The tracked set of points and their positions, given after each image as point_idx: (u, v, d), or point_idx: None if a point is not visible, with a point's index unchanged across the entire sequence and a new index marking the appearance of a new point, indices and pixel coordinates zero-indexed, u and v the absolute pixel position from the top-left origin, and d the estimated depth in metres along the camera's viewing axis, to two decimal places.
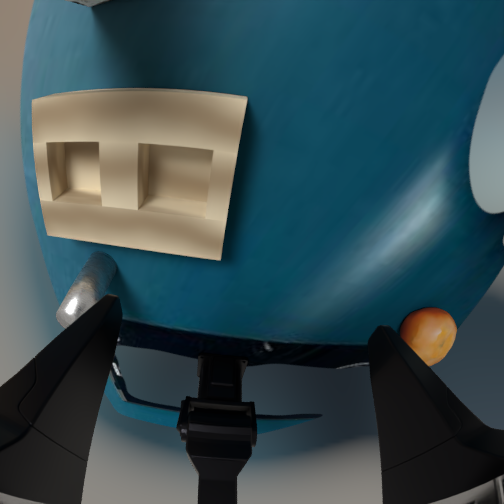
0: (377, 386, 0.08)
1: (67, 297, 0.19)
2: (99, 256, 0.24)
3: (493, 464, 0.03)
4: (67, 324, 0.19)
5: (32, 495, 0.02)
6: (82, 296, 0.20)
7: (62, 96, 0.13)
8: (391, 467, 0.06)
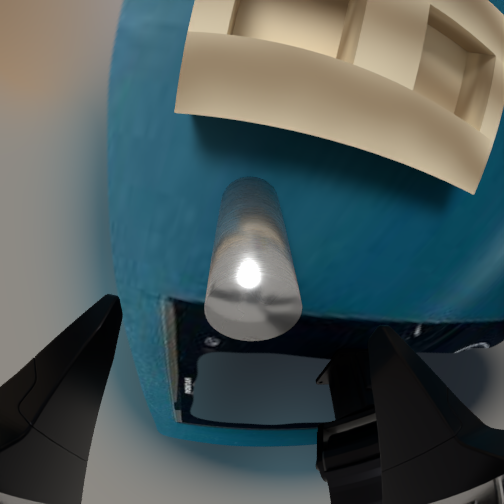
0: (377, 386, 0.08)
1: (240, 247, 0.09)
2: (259, 183, 0.14)
3: (493, 464, 0.03)
4: (234, 317, 0.09)
5: (32, 495, 0.02)
6: (279, 245, 0.10)
7: None
8: (391, 467, 0.06)
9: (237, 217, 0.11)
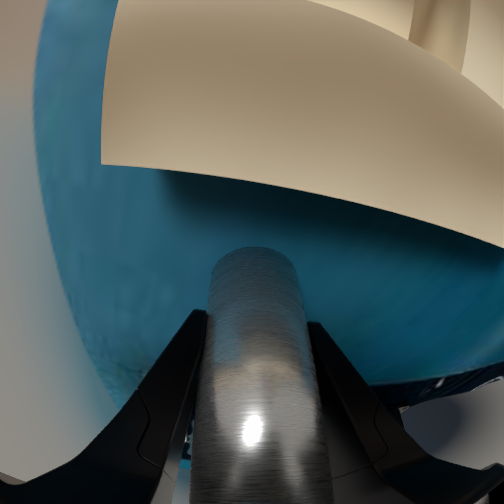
0: None
1: (240, 449, 0.04)
2: (269, 261, 0.09)
3: None
4: None
5: None
6: (308, 429, 0.05)
7: None
8: None
9: (234, 361, 0.06)
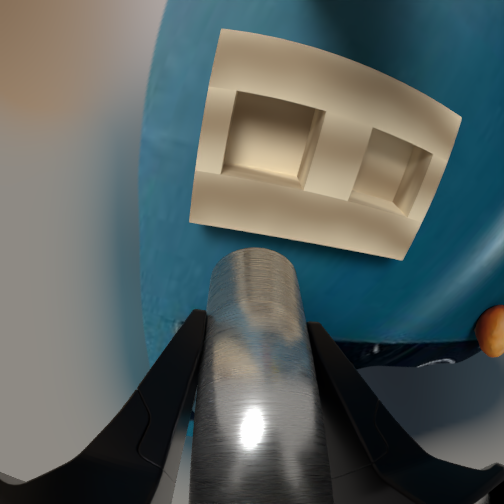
0: None
1: (239, 450, 0.04)
2: (269, 262, 0.09)
3: None
4: None
5: None
6: (308, 429, 0.05)
7: (281, 40, 0.11)
8: None
9: (234, 361, 0.06)
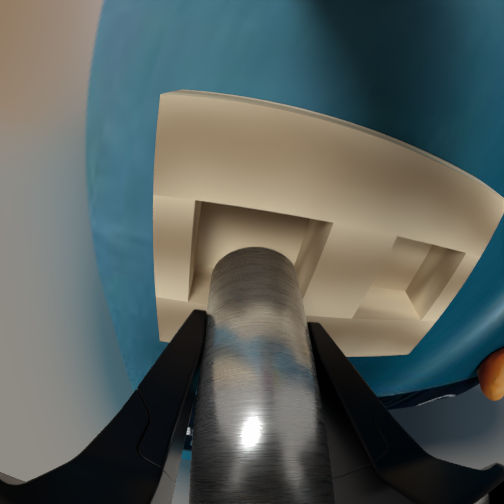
0: None
1: (240, 450, 0.04)
2: (270, 261, 0.09)
3: None
4: None
5: None
6: (309, 429, 0.05)
7: (264, 108, 0.07)
8: None
9: (234, 361, 0.06)
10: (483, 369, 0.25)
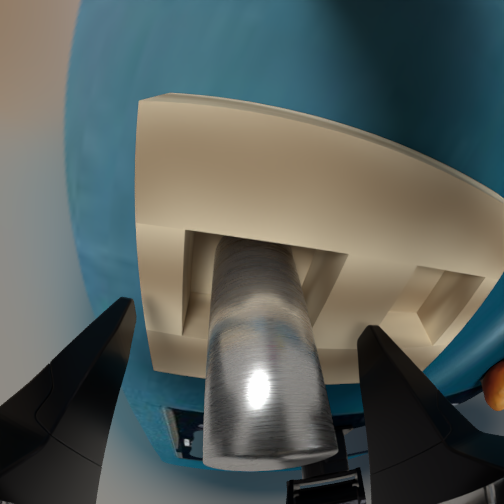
0: (365, 387, 0.08)
1: (250, 386, 0.05)
2: None
3: (483, 472, 0.03)
4: (244, 465, 0.05)
5: None
6: (308, 370, 0.06)
7: (269, 118, 0.06)
8: (380, 470, 0.06)
9: (241, 314, 0.07)
10: (488, 380, 0.23)
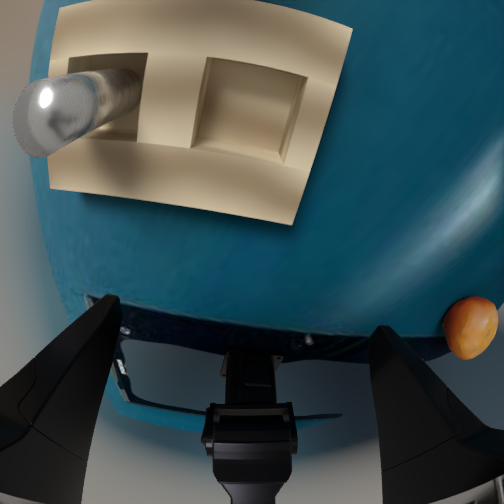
0: (377, 386, 0.08)
1: None
2: (120, 68, 0.12)
3: (493, 464, 0.03)
4: (28, 128, 0.07)
5: (32, 495, 0.02)
6: (79, 76, 0.08)
7: None
8: (391, 467, 0.06)
9: None
10: (447, 319, 0.26)
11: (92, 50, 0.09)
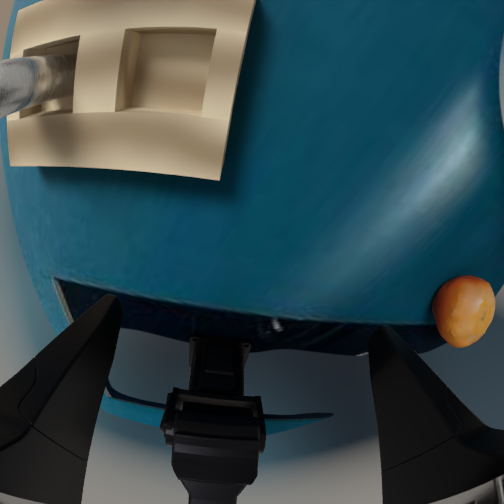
0: (377, 386, 0.08)
1: None
2: None
3: (493, 464, 0.03)
4: None
5: (32, 495, 0.02)
6: (18, 59, 0.07)
7: None
8: (391, 467, 0.06)
9: None
10: (436, 302, 0.24)
11: (40, 41, 0.09)
